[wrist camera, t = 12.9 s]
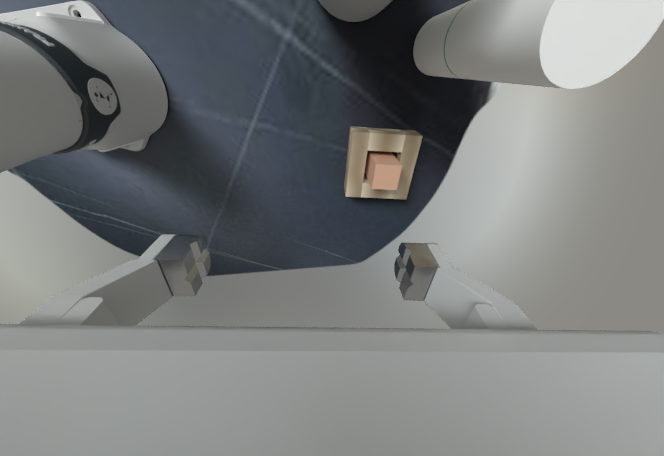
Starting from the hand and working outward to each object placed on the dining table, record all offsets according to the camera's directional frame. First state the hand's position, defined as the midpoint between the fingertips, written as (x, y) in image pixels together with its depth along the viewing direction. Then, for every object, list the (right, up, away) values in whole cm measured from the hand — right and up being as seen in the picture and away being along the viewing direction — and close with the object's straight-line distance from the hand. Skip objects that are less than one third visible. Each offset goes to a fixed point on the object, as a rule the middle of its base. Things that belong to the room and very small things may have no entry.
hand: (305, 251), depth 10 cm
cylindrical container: (+16, +27, +25) cm, 40 cm away
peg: (+9, +13, +34) cm, 38 cm away
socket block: (+9, +13, +34) cm, 37 cm away
